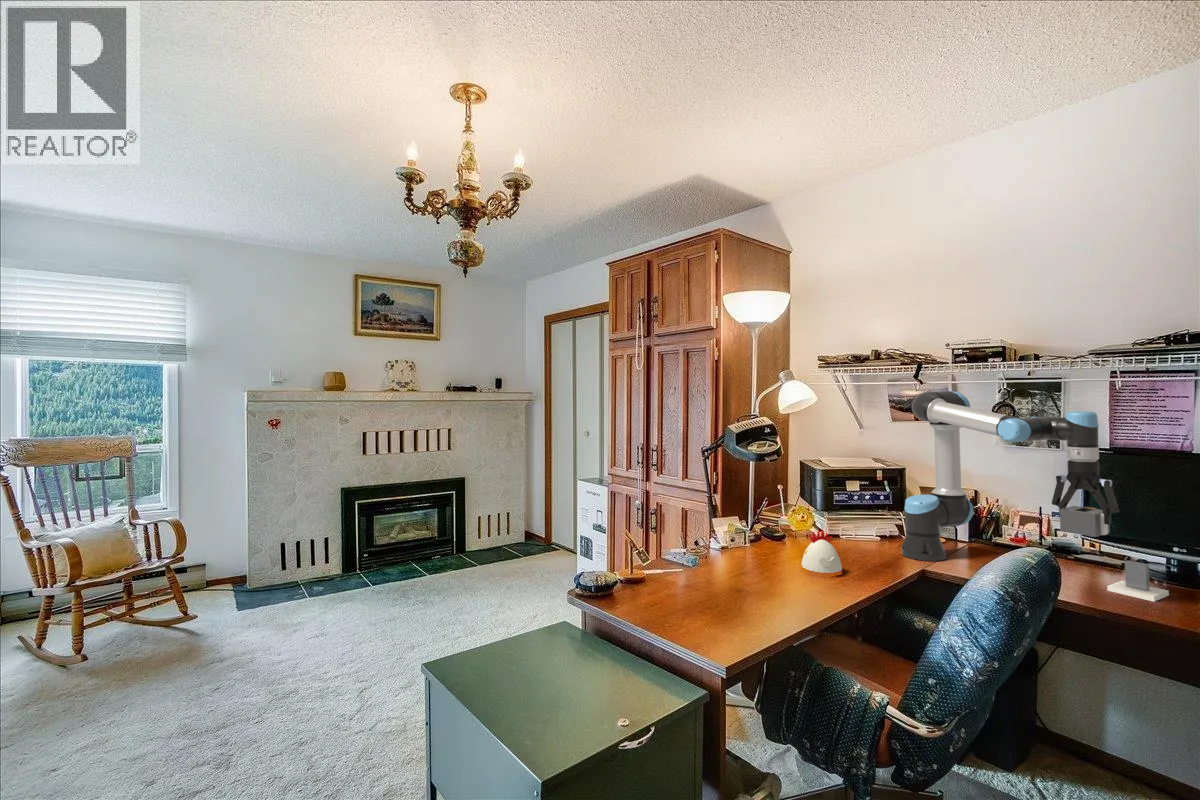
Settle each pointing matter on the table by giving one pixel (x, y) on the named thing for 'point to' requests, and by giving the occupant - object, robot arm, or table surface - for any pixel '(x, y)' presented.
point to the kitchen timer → (821, 555)
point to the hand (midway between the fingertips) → (1084, 531)
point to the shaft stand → (1137, 583)
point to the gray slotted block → (1081, 521)
